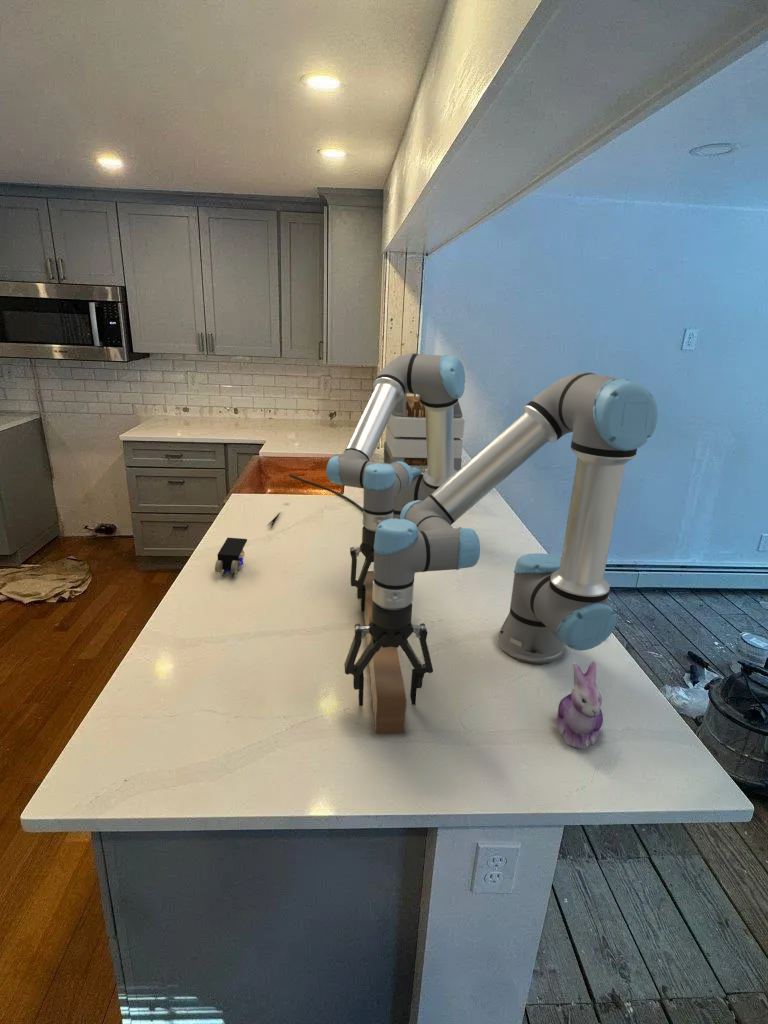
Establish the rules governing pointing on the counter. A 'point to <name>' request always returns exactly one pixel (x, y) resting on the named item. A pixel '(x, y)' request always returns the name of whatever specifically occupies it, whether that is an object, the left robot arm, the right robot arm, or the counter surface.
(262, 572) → the counter surface
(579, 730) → the figurine
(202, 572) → the counter surface
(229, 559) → the black boxy wheeled piece
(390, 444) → the grey slatted crate
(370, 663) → the bar
